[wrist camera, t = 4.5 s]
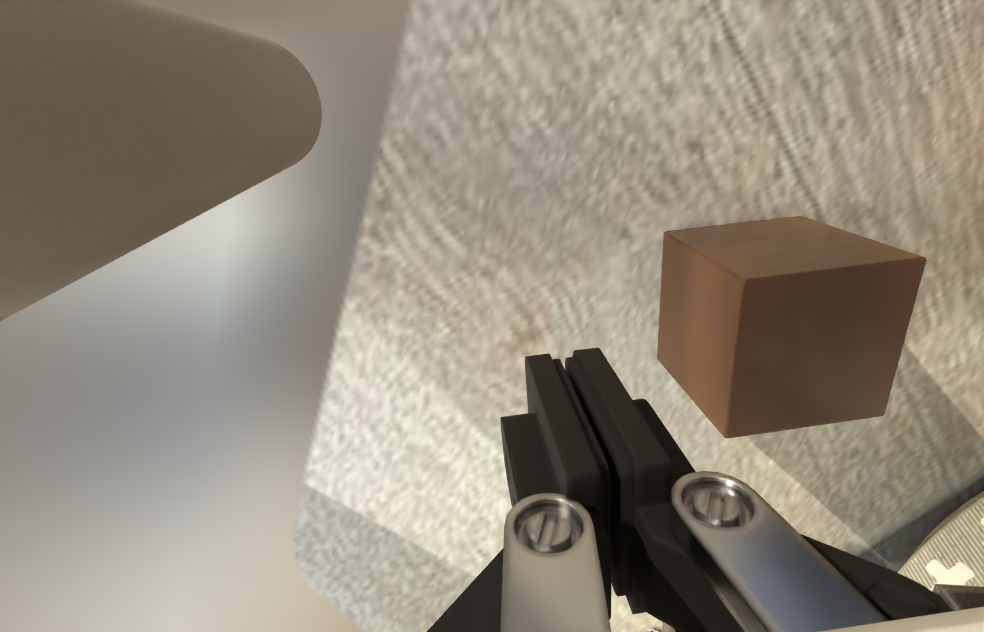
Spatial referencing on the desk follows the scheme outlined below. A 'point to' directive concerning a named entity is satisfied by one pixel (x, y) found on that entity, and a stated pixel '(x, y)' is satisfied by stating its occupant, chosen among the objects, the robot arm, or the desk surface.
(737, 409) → the walnut block
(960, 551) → the planter
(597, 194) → the desk surface
